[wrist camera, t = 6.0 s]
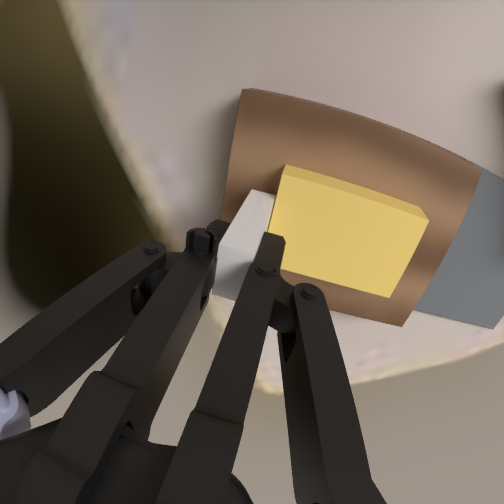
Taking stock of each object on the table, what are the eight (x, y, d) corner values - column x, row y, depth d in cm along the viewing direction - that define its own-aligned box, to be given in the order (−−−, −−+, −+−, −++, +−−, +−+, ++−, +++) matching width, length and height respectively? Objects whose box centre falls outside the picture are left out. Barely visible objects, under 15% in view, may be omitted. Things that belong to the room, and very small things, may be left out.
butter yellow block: (285, 164, 17) (282, 173, 16) (419, 207, 17) (429, 220, 15) (265, 247, 21) (260, 262, 19) (384, 280, 20) (389, 297, 18)
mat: (469, 160, 17) (471, 162, 16) (557, 216, 16) (559, 218, 16) (400, 304, 24) (401, 306, 24) (492, 327, 23) (493, 329, 23)
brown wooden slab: (252, 88, 18) (242, 88, 15) (464, 158, 17) (483, 170, 14) (223, 257, 26) (212, 278, 23) (396, 303, 24) (401, 326, 22)
